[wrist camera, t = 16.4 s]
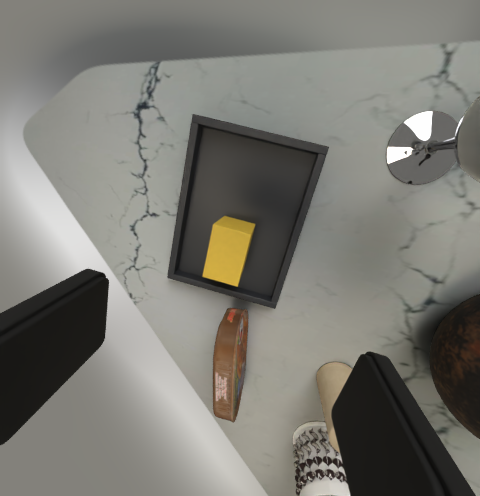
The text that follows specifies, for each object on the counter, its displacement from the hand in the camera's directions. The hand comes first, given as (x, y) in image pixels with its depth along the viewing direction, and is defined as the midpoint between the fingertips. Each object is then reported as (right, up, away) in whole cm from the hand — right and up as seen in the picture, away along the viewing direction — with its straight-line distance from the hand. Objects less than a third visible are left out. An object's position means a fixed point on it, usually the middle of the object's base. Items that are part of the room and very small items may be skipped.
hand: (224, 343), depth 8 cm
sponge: (0, +4, +21) cm, 22 cm away
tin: (0, -10, +26) cm, 28 cm away
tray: (+1, +7, +21) cm, 22 cm away
